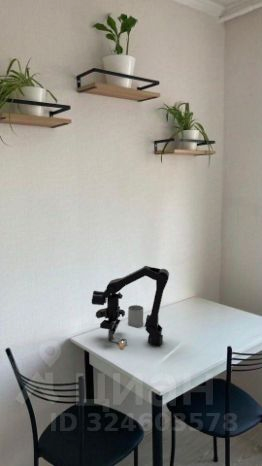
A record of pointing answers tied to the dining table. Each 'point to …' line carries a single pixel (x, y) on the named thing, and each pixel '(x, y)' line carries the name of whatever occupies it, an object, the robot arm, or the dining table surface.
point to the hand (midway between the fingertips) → (112, 334)
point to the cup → (135, 316)
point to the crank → (110, 338)
